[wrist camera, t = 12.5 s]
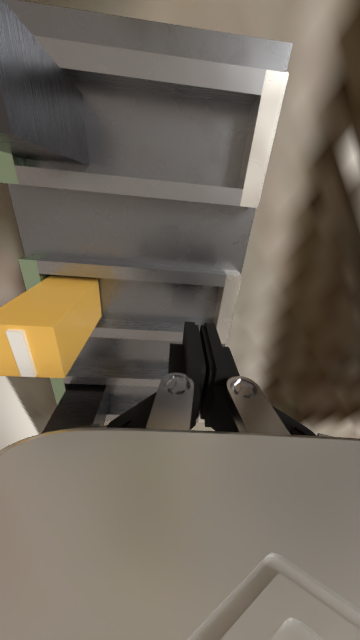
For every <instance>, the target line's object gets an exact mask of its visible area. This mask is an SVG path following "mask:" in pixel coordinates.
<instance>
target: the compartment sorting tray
mask: <svg viewBox="0 0 360 640" xmlns="http://www.w3.org/2000/svg"><path fill="white" fill-rule="evenodd" d="M292 44H293V43H288V42H282V41H275V40H269V39H263V38H256V37H250V36H243V35H237V34H231V33H224V32H218V31H212V30H205V29H199V28H193V27H186V26H180V25H173V24H167V23H161V22H154V21H148V20H142V19H135V18H129V17H122V16H116V15H110V14H103V13H97V12H91V11H84V10H78V9H71V8H65V7H59V6H52V5H46V4H40V3H33V2H27V1H20V0H0V183H7V185H8V189H9V193H10V197H11V201H12V205H13V209H14V213H15V217H16V221H17V225H18V229H19V233H20V237H21V241H22V245H23V249H24V253H25V257H22V258H20V259H18V261H19V264H20V268H21V272H22V276H23V279H24V283H25V287H26V291H27V290H29V289H30V288H32V287H33V286H35V285H37V284H38V283H40V282H41V281H43V280H45V279H46V278H48V277H49V276H51V275H54V276H68V277H82V278H96V279H98V283H99V293H100V303H101V314H102V316H101V318H100V320H99V321H98V323H97V325H96V326H95V328H94V330H93V331H92V333H91V335H90V337H89V338H88V340H87V342H86V343H85V345H84V347H83V348H82V350H81V352H80V353H79V355H78V357H77V358H76V360H75V362H74V363H73V365H72V367H71V369H70V370H69V372H68V374H67V375H66V377H65V378H50V381H51V385H52V388H53V392H54V396H55V400H56V403H57V407H56V409H55V411H54V412H53V414H52V416H51V418H50V420H49V421H48V423H47V425H46V427H45V429H44V431H43V432H42V433H45V432H49V431H56V430H62V429H68V428H74V427H81V426H87V425H93V424H100V426H104V422H105V420H114V419H115V418H116V417H118V416H120V415H121V414H123V413H124V412H126V411H127V410H129V409H130V408H132V407H134V406H135V405H137V404H138V403H140V402H141V401H143V400H144V399H146V398H148V397H149V396H151V395H152V394H154V393H155V392H157V390H158V387H159V384H160V381H161V379H162V378H163V377H164V376H165V375H167V374H168V364H169V350H170V343H173V344H182V341H183V332H184V323H185V322H195V325H198V326H199V332H200V327H201V325H204V323H214V324H215V325H216V328H217V332H218V335H219V338H220V341H221V344H222V347H225V344H227V341H228V336H229V332H230V328H231V323H232V319H233V315H234V310H235V306H236V301H237V297H238V293H239V288H240V284H241V280H242V275H241V271H242V267H243V262H244V258H245V254H246V249H247V245H248V240H249V236H250V231H251V227H252V222H253V218H254V213H255V209H256V208H258V205H259V201H260V197H261V192H262V188H263V184H264V179H265V175H266V170H267V166H268V162H269V157H270V153H271V149H272V144H273V140H274V136H275V131H276V127H277V122H278V118H279V114H280V109H281V105H282V101H283V96H284V92H285V88H286V83H287V79H288V74H289V73H286V71H287V67H288V62H289V58H290V53H291V49H292ZM196 423H205V421H204V419H201V418H200V411H199V414H198V419H196Z"/></svg>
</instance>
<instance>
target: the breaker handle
mask: <svg viewBox="0 0 360 640" xmlns="http://www.w3.org/2000/svg"><path fill="white" fill-rule="evenodd" d="M101 316H102V314H101V303H100V293H99V283H98V279H96V278H82V277H68V276H54V275H51V276H49V277H48V278H46V279H45V280H43V281H41V282H40V283H38V284H37V285H35V286H33V287H32V288H30V289H29V290H27V291H26V292H24V293H22V294H21V295H19V296H18V297H16V298H15V299H13V300H11V301H10V302H8V303H7V304H5V305H4V306H2V307H0V376H19V377H46V378H65V377H66V375H67V374H68V372H69V370H70V369H71V367H72V365H73V363H74V362H75V360H76V358H77V357H78V355H79V353H80V352H81V350H82V348H83V347H84V345H85V343H86V342H87V340H88V338H89V337H90V335H91V333H92V331H93V330H94V328H95V326H96V325H97V323H98V321H99V320H100V318H101Z"/></svg>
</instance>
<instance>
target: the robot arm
mask: <svg viewBox="0 0 360 640" xmlns="http://www.w3.org/2000/svg"><path fill="white" fill-rule="evenodd" d="M199 411H200V418H201V419H204V421H205V427H212V428H213V429H214V430H215V431H196V430H191V429H192V428H193V427H194V426H195V425H196V419H198V414H199ZM0 640H360V439H356V438H341V437H332V436H328V435H324V434H320V433H318V434H317V436H316V435H315V434H314V433H313V432H312V431H311V430H309V429H308V428H307V427H305V426H303V425H302V424H300V423H299V422H297V421H296V420H294V419H292V418H291V417H289V416H288V415H286V414H284V413H283V412H281V411H280V410H278V409H276V408H275V407H273V406H272V405H271V404H270V403H269V401H268V400H267V398H266V396H265V395H264V393H263V392H262V390H261V389H260V387H259V386H258V385H257V384H256V383H255V382H254V381H252V380H251V379H249V378H246V377H242V376H240V375H239V373H238V370H237V367H236V365H235V362H234V359H233V357H232V354H231V351H230V349H229V347H222V344H221V341H220V338H219V335H218V332H217V328H216V325H215V324H214V323H204V325H201V327H200V332H199V326H198V325H195V322H185V323H184V332H183V341H182V344H173V343H170V350H169V364H168V374H167V375H165V376H164V377H163V378H162V379H161V381H160V384H159V387H158V390H157V392H155V393H154V394H152V395H151V396H149V397H148V398H146V399H144V400H143V401H141V402H140V403H138V404H137V405H135V406H134V407H132V408H130V409H129V410H127V411H126V412H124V413H123V414H121V415H120V416H118V417H116V418H115V419H114V420H112V421H111V422H110V423H109V424H108V425H106V426H100V424H93V425H87V426H81V427H74V428H68V429H62V430H56V431H49V432H45V433H42V434H39V435H36V436H32V437H28V438H26V439H23V440H20V441H18V442H16V443H13V444H11V445H9V446H7V447H5V448H4V449H2V450H0Z"/></svg>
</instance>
